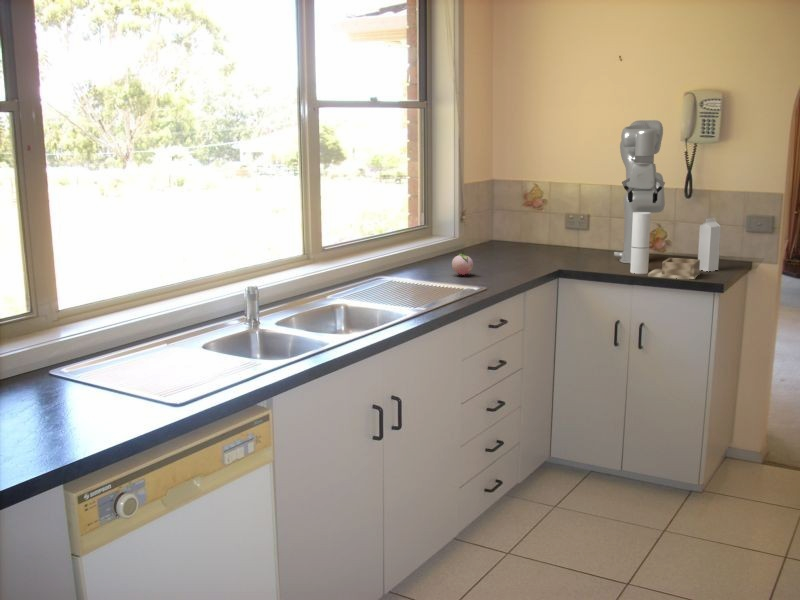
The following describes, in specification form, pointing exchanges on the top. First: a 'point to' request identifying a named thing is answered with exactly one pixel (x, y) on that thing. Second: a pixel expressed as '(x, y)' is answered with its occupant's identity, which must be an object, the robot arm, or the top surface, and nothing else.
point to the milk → (709, 245)
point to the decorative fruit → (462, 264)
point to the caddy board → (677, 269)
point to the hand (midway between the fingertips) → (642, 202)
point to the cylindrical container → (640, 242)
